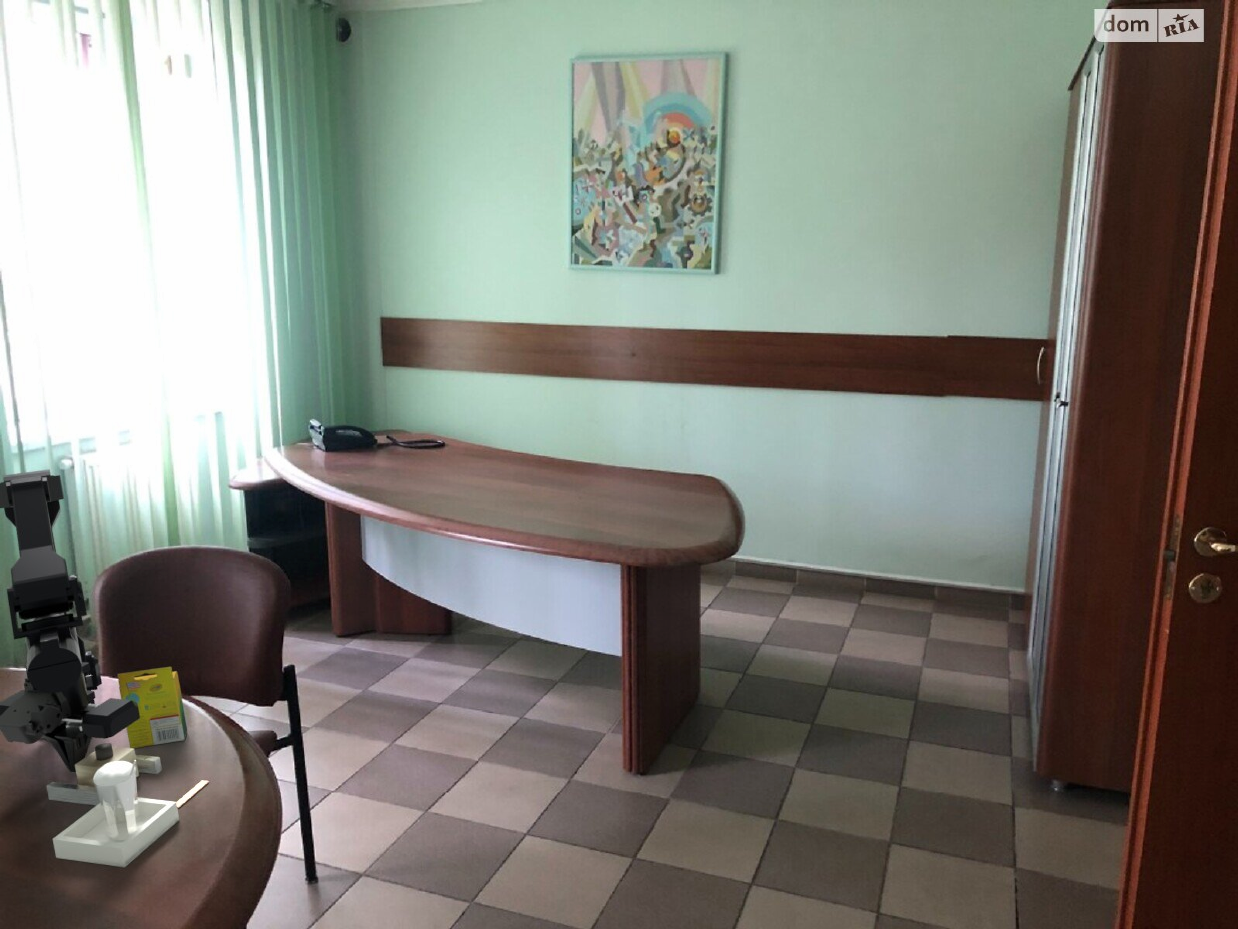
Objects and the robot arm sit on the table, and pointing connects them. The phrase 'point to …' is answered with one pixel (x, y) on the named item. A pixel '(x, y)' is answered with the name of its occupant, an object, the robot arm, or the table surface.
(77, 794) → the slide rails
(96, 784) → the milkshake
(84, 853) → the tray
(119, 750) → the slider
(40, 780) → the table surface
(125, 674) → the crayon box
